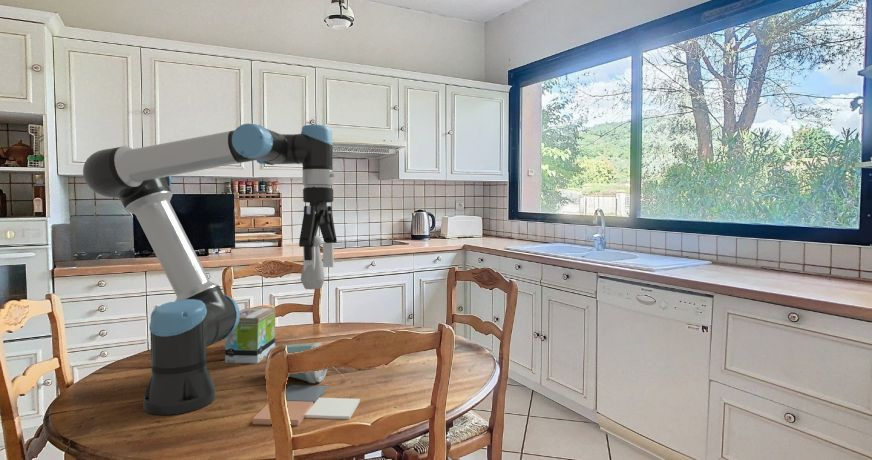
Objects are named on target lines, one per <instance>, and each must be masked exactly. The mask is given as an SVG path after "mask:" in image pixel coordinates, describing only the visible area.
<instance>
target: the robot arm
mask: <svg viewBox="0 0 872 460" xmlns="http://www.w3.org/2000/svg"><path fill="white" fill-rule="evenodd" d="M332 132H333V131H332V129H331V128H330V127H329V126H327V125H324V124H305V125H303V126H302V127H301V132H300V133H298V134H297V133H294V134H288V133H286V134H284V133H282V134H281V133H279V132H276V131H273V130H271V129H268V128H265V127H264V126H262V125H261V124H256V123H244V124H240V125H239V126H237V127H236V129H234V130H229V131H224V132H218V133H217V132H216V133H213V134H206V135H202V136H197V137H191V138H185V139H181V140H176V141H169V142H165V143H163V142H162V143H159V144H154V145H149V146H148V145H147V146H143V147H137V148H136V147H135V148H132V147H130V146H127V145H124V146H123V145H122V146H118V147H117V146H116V147H113V148H105V149H102V150H98V151H96V152H94V153H92V154H90V156H89V157H88V158H87V159H86V161H85V162H84V164H83V166H82V167H83V168H82V175H83V180H84V181H85V183H86V184H87V186H88V187H89V188H90V189H91V190H92V191H93V192H94V193H96V194H98V195H101V196H104V197H107V198H114V199H117V198H119V200H120V203H121V204H122V206H123V207H124V211H126V212H127V213H130V214H134V215H135V217H136V219H137V221H138V222H139V224H140V226H141V229H142V230H143V233H144V234H145V236H146V238H147V240H148V242H149V244H150V246H151V248H152V250H153V253H154V254H155V256H156V258H157V260H158V262H159V264H160V266H161V268H162V270H163V272H164V274H165V275H166V278H167V279H168V282H169V283H170V286H171V288H172V289H173V290H172V291H173V292H174V293H175V295H176V299H175V300H174V301H168V302H166V303H163V304H160V305H158V306H157V307H155V308H154V309H153V310H152V312H151V314H150V322H149V326H148V327H149V332H150V334H149V335H150V360H151V361H150V362H151V363H150V364H151V367H150V368H151V372H150V373H151V375H150V377H149V381H148V382H147V383H148V384H147V386H146V390H145V392H144V396H143V400H142V401H143V404H142V405H143V408H142V409H143V410H144V412H146V413H148V414H151V415H158V416H159V415H160V416H166V415H167V416H168V415H170V416H171V415H178V414H183V413H189V412H192V411H196V410H199V409H202V408H204V407H207V406H208V405H209V404H211V403H213V402H214V401H215V399H216V387H215V384H214V382H213V378H212V376H211V373H210V371H209V369H208V361H207V358H208V357H207V356H208V355H207V353H208V352H207V350H208V349H207V348H208V347H210V346H212V345H214V344H216V343H218V342H221V341H222V340H225V338H226V337H227V336H228V335H230V334H231V333H232V332H233V331H234V330H235V329H236V327H237V325H238V322H239V319H240V311H241V310H240V307H239V305H238V303H237V302H236V301H235V299H233V298H232V297H231V296H228V295H227V294H224V292H223V290H222V288H221V287H220V286H221V285H219V284H218V283H215V282H211V281H210V279H209V276H208V274H207V273H206V271H205V269H204V266H203V265H202V263H201V261H200V259H199V257H198V255H197V253H196V251H195V250H194V247H193V245H192V244H191V241H190V239H189V238H188V235H187V234H186V232H185V230H184V228H183V225H182V224H181V222H180V220H179V218H178V216H177V214H176V212H175V210H174V208H173V206H172V204H171V200H172V197H173V192H172V189H171V188H172V185H171V184H172V182H173V181H172V180H173V178H172V176H177V175H182V174H186V173H187V174H188V173H193V172H198V171H203V170H208V169H215V168H219V167H225V166H229V165H230V166H231V165H235V164H243V163H247V162H248V163H249V162H252V161H253V162H254V161H256V163H258V164H260V165H269V166H274V165H293V164H294V165H296V164H297V165H302V185H303V187H304V188H303V189H302V202H304V203H306V204H307V203H309V205H304V206H303V217H302V222H301V223H302V224H301V230H300V235H299V239H298V240H299V241H298V247H299V248H301V247H302V249H303V263H304V271H305V269H306V267H307V265H311V264H312V267H313V269H314V272H315V247H313V245H314V238H315V236H317V235H318V230H320V233H321V236H322V238H323V239H322V240H323V241H324V242H322V265H323V268H334V267H335V265H334V264H335V263H334V261H335V260H334V257H335V256H334V243H337V240H338V239H337V234H336V228H335V223H334V218H333V209H332V205H328V203H333V202H334V188H332V186H333V185H334V178H335V175H336V174H335V173H334V170H333V169H334V167H333V161H334V160H333V158H334V157H333V154H334V153H333V151H334V150H333V146H334V143H333V133H332Z"/></svg>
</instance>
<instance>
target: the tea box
mask: <svg viewBox="0 0 872 460" xmlns="http://www.w3.org/2000/svg"><path fill="white" fill-rule="evenodd" d="M239 311H240V319H239V322H238V325H237V327H236V329H235V330H234V331H233V332H232V333H231V334H230V335H228V336H227V337H226V338H225V339H224V341H225V342H224V344H225V348H224V351H225V352H224V353H225V355H224V362H225V364H230V363H231V364H258V363H260V362H261V361H262V360H263V359H264V358H265V357H267V354H268V352H269V350H270V349H271V348H273V347H276V308H274V307H273V308H271V307H269V308H268V307H266V308H265V307H264V308H263V307H262V308H261V307H260V308H259V307H257V308H256V307H245V308H243V309H241V310H239Z"/></svg>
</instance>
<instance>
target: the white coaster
mask: <svg viewBox="0 0 872 460" xmlns="http://www.w3.org/2000/svg"><path fill="white" fill-rule="evenodd" d="M360 402H361V398H339V397H338V398H337V397H320V398H318V400H317V401H316V402H315V403H314V404H313V406H312V407H311V408H310V409H309V410H308V412H307V413H306V414H305V418H306V419H307V418H308V419H309V418H310V419H329V420H330V419H331V420H332V419H334V420H350V419H351V418H352V416H353V414H355V411H356V409H357V407H358V406H359V404H360ZM305 418H304V419H305Z"/></svg>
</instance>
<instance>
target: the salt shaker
mask: <svg viewBox="0 0 872 460" xmlns="http://www.w3.org/2000/svg"><path fill="white" fill-rule="evenodd" d="M322 240H323V239H322V237H321V236H320V235H316V236H315V238H314V245H313V247H315V272H314V269H313V267H312V264H311V265H307V267H306V269H305V271H304V262H302V263H303V264H302V269H301V274H300V282H301V283H302V285H303V289H305V290H319V289H322V288H323V286H324V282H325V279H326V278H325V277H326V276H325V272H324V267H323V258H322V255H321V249H320V245H322V242H323V241H322Z"/></svg>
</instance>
